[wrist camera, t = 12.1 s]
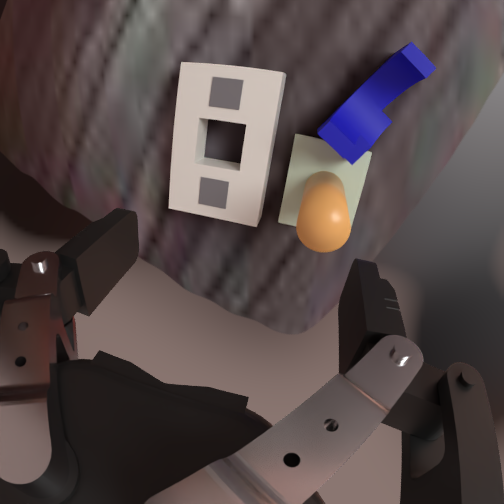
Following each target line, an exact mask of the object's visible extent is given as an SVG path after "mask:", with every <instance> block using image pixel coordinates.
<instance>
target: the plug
mask: <svg viewBox="0 0 504 504" xmlns="http://www.w3.org/2000/svg"><path fill="white" fill-rule="evenodd" d="M296 230H297V234H298V237H299V239H300V240H301V242H302V243H303V244H304V245H305V246H306V247H308V248H309V249H311V250H314V251H317V252H331V251H334V250H336V249H338V248H340V247H341V246H342V245H343V244H344V243H345V242H346V241H347V239H348V237H349V235H350V231H351V224H350V218H349V212H348V207H347V201H346V196H345V191H344V186H343V183H342V181H341V179H340V178H339V177H338V176H337V175H335V174H334V173H331V172H328V171H320V172H316V173H314V174H313V175H311V176H310V177H309V178H308V180H307V181H306V184H305V188H304V192H303V197H302V201H301V206H300V210H299V214H298V219H297V223H296Z"/></svg>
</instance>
